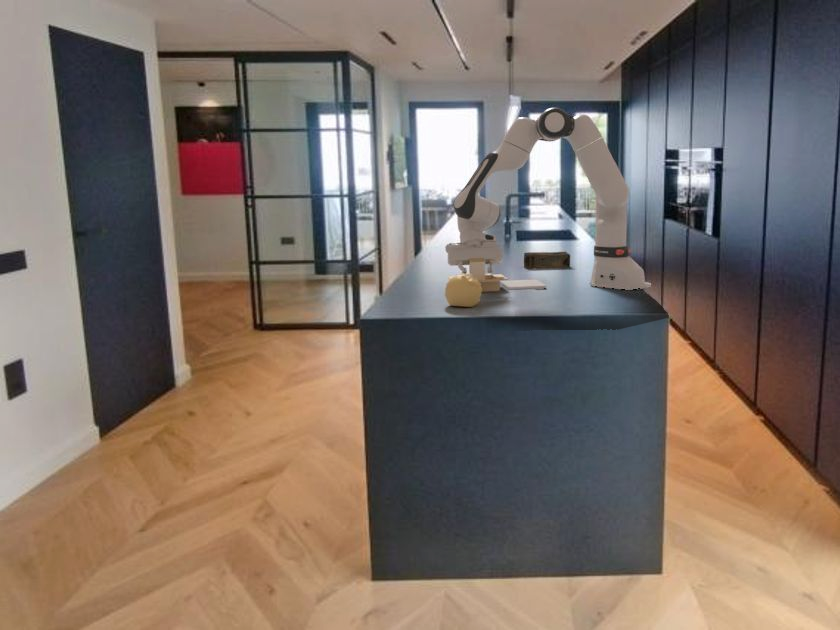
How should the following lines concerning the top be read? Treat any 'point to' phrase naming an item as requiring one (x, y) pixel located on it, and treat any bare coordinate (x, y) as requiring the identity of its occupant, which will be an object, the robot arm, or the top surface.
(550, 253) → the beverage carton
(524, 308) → the top surface
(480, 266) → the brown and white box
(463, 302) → the sculpture
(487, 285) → the carton
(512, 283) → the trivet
